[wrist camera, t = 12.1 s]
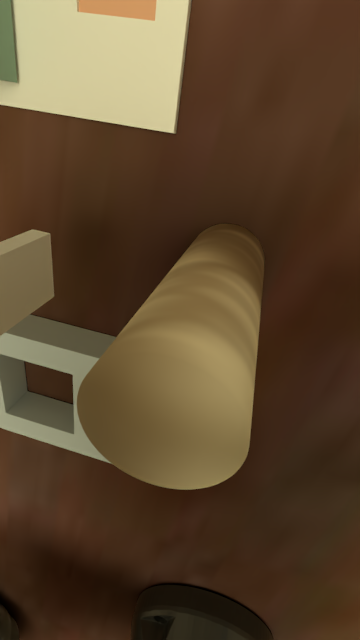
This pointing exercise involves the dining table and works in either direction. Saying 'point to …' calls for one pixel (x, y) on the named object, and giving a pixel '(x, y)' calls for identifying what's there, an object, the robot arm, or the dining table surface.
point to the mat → (100, 59)
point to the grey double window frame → (56, 353)
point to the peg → (183, 369)
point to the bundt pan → (7, 626)
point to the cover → (7, 44)
